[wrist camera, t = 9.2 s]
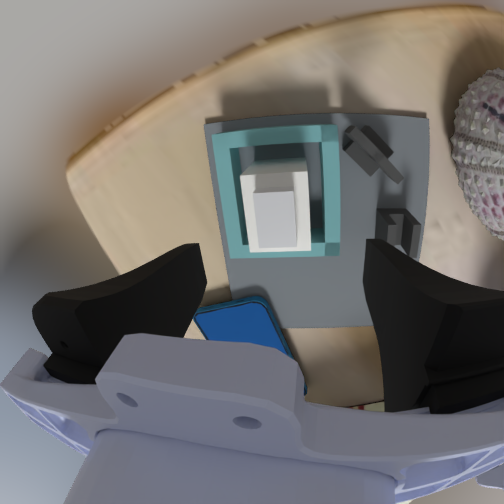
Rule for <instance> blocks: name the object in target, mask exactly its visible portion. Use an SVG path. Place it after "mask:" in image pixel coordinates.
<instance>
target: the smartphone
mask: <svg viewBox="0 0 504 504" xmlns="http://www.w3.org/2000/svg"><path fill="white" fill-rule="evenodd" d="M193 320H194V322H195V323H196V325H197V326H198V328H199V330H200V331H201V333H202V334H203V336H204V337H205V339H206V340H212V341H227V342H246V343H253V344H258V345H262V346H267V347H272V348H276V349H278V350H279V351H281V352H282V353H284V354H285V355H287V356H288V357H290V358H292V359H293V360H294V358H293V356H292V354H291V352H290V349H289V347H288V345H287V343H286V341H285V339H284V337H283V334H282V332H281V330H280V328H279V326H278V324H277V321H276V319H275V317H274V315H273V313H272V310H271V308H270V306H269V304H268V302H267V301H266V300H265V299H264V298H262V297H259V296H251V297H247V298H243V299H238V300H234V301H229V302H224V303H220V304H215V305H210V306H205V307H201V308H198V309H197V311H196V313H195V315H194V317H193ZM306 394H307V386H306V384H305V382H304V396H305V395H306Z"/></svg>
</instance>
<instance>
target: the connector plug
mask: <svg viewBox="0 0 504 504" xmlns="http://www.w3.org/2000/svg"><path fill="white" fill-rule="evenodd" d="M240 181H241V189H242V196H243V204H244V211H245V219H246V227H247V234H248V242H249V249H250V253H251V252H285V251H311V232H310V207H309V188H308V172H307V165H306V158H287V159H272V160H259V161H254V162H253V163H252V164H251V165H250V166H249V167H248V168H247V169H246V170H245V171H244V172H243V173H242V174H241V175H240Z"/></svg>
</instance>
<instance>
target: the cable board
mask: <svg viewBox="0 0 504 504" xmlns="http://www.w3.org/2000/svg"><path fill="white" fill-rule="evenodd" d="M204 130H205V137H206V144H207V151H208V158H209V165H210V171H211V178H212V184H213V191H214V197H215V203H216V209H217V216H218V222H219V228H220V233H221V239H222V245H223V251H224V257H225V262H226V268H227V274H228V279H229V285H230V290H231V295H232V301H234V300H238V299H243V298H247V297H251V296H259V297H262V298H264V299H265V300H266V301H267V302H268V304H269V306H270V308H271V310H272V313H273V315H274V317H275V319H276V321H277V324H278V326H279V328H335V327H359V326H373V322H372V319H371V316H370V312H369V309H368V306H367V302H366V299H365V293H364V287H363V281H362V280H363V270H364V260H365V248H366V239H382V240H384V241H386V242H388V243H389V244H391V245H392V246H394V247H395V248H397V249H398V250H400V251H402V252H403V253H405V254H406V255H408V256H409V257H411V258H413V259H414V260H416V261H418V262H419V258H420V252H421V246H422V239H423V232H424V224H425V216H426V206H427V195H428V180H429V119H427V118H418V117H409V116H397V115H382V114H358V113H319V114H294V115H279V116H267V117H256V118H247V119H239V120H231V121H224V122H217V123H210V124H204ZM287 158H306V165H307V172H308V188H309V207H310V232H311V251H285V252H251V253H250V249H249V242H248V234H247V227H246V219H245V211H244V204H243V196H242V189H241V181H240V175H241V174H242V173H243V172H244V171H245V170H246V169H247V168H248V167H249V166H250V165H251V164H252V163H253V162H254V161H259V160H272V159H287Z"/></svg>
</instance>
